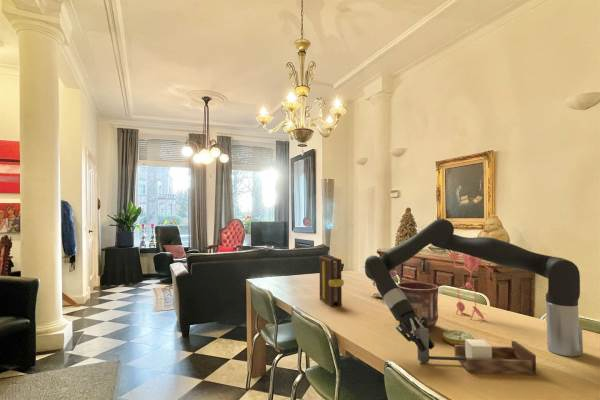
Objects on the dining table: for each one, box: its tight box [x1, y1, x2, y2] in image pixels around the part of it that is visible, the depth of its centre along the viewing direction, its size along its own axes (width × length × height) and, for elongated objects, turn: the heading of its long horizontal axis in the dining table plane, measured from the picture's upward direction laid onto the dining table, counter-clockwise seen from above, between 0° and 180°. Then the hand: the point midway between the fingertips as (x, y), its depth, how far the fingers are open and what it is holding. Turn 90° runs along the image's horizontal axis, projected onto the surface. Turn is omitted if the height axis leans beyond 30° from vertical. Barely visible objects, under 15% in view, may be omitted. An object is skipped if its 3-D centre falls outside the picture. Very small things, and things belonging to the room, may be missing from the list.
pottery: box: [396, 281, 440, 330], centre depth 151 cm, size 18×18×18 cm
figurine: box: [449, 251, 493, 324], centre depth 167 cm, size 15×26×35 cm, turn 19°
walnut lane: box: [454, 340, 537, 376], centre depth 112 cm, size 20×12×6 cm, turn 84°
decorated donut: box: [442, 329, 475, 346], centre depth 132 cm, size 10×11×4 cm
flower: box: [362, 265, 401, 299], centre depth 208 cm, size 20×22×25 cm
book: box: [318, 255, 345, 308], centre depth 193 cm, size 22×8×25 cm, turn 17°
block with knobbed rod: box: [417, 327, 493, 363], centre depth 113 cm, size 22×6×10 cm, turn 84°
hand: (428, 349), depth 113 cm, fingers closed on block with knobbed rod, 3 cm apart
